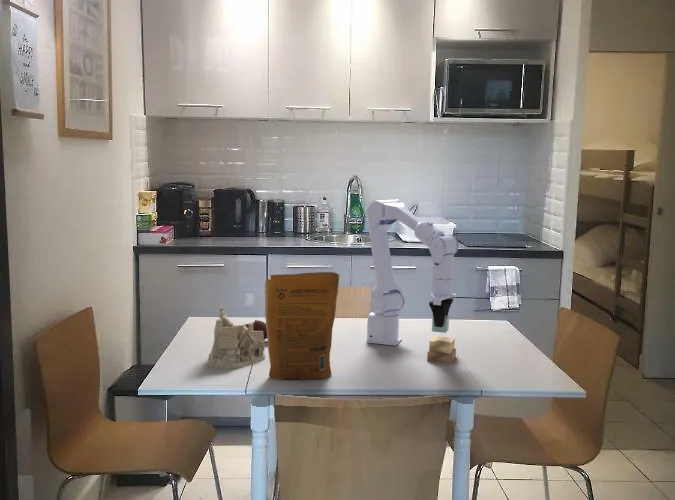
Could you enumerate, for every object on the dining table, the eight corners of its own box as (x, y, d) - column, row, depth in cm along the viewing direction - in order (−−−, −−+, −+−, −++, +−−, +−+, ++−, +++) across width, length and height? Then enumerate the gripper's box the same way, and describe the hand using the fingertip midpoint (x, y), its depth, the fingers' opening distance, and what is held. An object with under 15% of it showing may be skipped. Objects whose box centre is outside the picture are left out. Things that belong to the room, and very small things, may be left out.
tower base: (427, 362, 195) (427, 351, 195) (431, 355, 202) (432, 345, 202) (451, 364, 193) (452, 354, 193) (455, 358, 200) (456, 348, 199)
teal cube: (431, 331, 195) (432, 317, 194) (434, 328, 199) (435, 314, 198) (445, 332, 194) (446, 319, 193) (448, 329, 197) (449, 316, 197)
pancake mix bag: (338, 381, 176) (341, 273, 172) (264, 382, 174) (264, 273, 170) (335, 373, 183) (337, 269, 179) (263, 374, 180) (264, 269, 176)
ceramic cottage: (202, 368, 184) (206, 313, 182) (213, 352, 200) (217, 302, 198) (260, 373, 184) (265, 318, 182) (267, 357, 200) (271, 306, 199)
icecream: (229, 324, 206) (279, 329, 206) (233, 312, 213) (282, 317, 213) (228, 344, 208) (278, 349, 209) (232, 332, 215) (280, 337, 216)
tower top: (429, 351, 196) (429, 341, 195) (433, 345, 201) (434, 335, 201) (450, 353, 194) (450, 343, 193) (454, 348, 199) (454, 338, 199)
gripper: (452, 283, 186) (450, 332, 188) (460, 275, 200) (458, 320, 201) (426, 281, 188) (424, 329, 190) (436, 273, 202) (434, 318, 204)
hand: (440, 324), depth 196 cm, fingers closed on teal cube, 4 cm apart
